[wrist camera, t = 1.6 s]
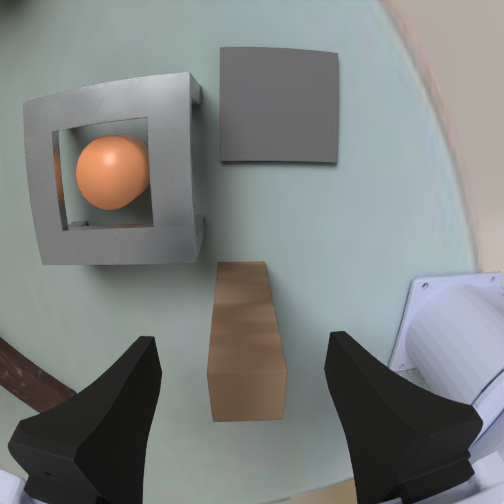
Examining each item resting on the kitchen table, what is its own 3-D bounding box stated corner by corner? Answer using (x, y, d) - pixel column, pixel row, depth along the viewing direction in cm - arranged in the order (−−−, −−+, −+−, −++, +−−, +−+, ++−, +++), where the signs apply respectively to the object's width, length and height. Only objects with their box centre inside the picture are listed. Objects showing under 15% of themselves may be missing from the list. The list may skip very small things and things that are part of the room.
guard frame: (200, 85, 14) (189, 72, 11) (204, 234, 17) (196, 263, 14) (63, 104, 14) (23, 102, 10) (75, 238, 17) (42, 265, 13)
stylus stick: (264, 261, 18) (287, 371, 10) (263, 301, 19) (282, 419, 11) (218, 262, 18) (206, 374, 10) (220, 302, 19) (212, 421, 11)
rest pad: (335, 54, 14) (337, 53, 14) (334, 161, 16) (336, 162, 16) (220, 49, 14) (220, 47, 13) (221, 160, 16) (220, 161, 16)
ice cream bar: (125, 416, 23) (-14, 321, 20) (120, 430, 22) (-24, 331, 18) (106, 437, 25) (-18, 353, 21) (102, 450, 23) (-26, 363, 19)
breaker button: (152, 131, 14) (140, 132, 12) (155, 198, 16) (145, 208, 14) (91, 139, 14) (73, 141, 12) (96, 202, 15) (80, 212, 14)
